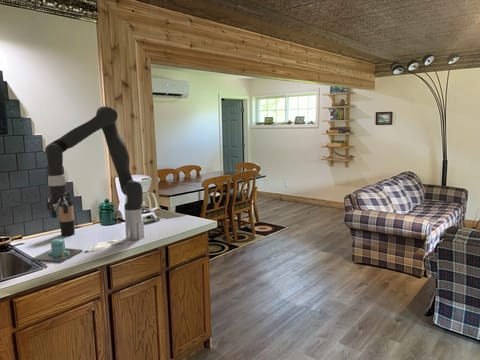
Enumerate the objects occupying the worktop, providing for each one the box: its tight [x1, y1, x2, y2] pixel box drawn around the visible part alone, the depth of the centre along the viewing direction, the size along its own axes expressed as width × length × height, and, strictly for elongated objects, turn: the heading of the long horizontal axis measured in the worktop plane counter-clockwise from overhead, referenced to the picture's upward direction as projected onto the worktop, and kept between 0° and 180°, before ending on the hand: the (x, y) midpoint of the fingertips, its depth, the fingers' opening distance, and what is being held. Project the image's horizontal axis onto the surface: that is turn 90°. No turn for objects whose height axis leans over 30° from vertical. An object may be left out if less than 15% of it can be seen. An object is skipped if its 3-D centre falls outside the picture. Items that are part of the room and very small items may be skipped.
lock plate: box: [31, 247, 84, 264], centre depth 178 cm, size 16×16×6 cm
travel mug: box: [58, 200, 76, 237], centre depth 212 cm, size 8×8×20 cm
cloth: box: [83, 238, 127, 254], centre depth 193 cm, size 26×14×2 cm, turn 134°
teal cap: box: [48, 238, 69, 256], centre depth 177 cm, size 10×6×7 cm, turn 91°
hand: (60, 215), depth 181 cm, fingers open, 8 cm apart
